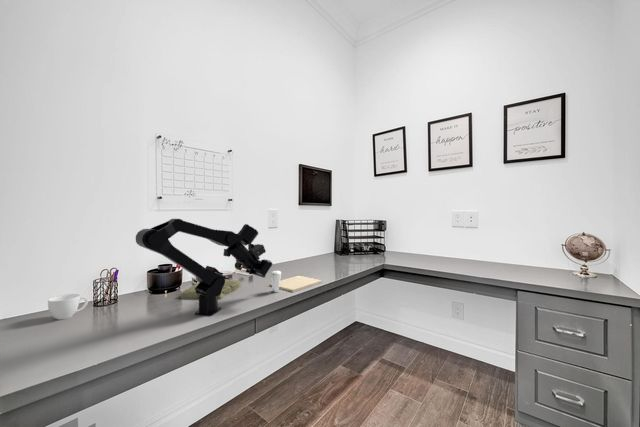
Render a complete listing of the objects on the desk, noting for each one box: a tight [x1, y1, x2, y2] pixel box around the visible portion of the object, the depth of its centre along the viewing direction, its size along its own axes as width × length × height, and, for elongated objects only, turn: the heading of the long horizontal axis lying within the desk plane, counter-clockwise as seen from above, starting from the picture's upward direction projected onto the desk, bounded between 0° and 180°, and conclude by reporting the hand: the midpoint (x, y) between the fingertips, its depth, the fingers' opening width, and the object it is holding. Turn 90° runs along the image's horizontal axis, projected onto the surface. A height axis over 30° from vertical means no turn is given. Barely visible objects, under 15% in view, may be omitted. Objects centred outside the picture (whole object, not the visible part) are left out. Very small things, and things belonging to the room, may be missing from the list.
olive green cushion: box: [180, 279, 242, 300], centre depth 119 cm, size 19×20×4 cm
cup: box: [47, 293, 89, 321], centre depth 92 cm, size 8×10×7 cm
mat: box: [269, 275, 323, 293], centre depth 130 cm, size 20×16×1 cm
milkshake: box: [270, 267, 282, 293], centre depth 119 cm, size 4×5×10 cm
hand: (264, 276), depth 114 cm, fingers closed
